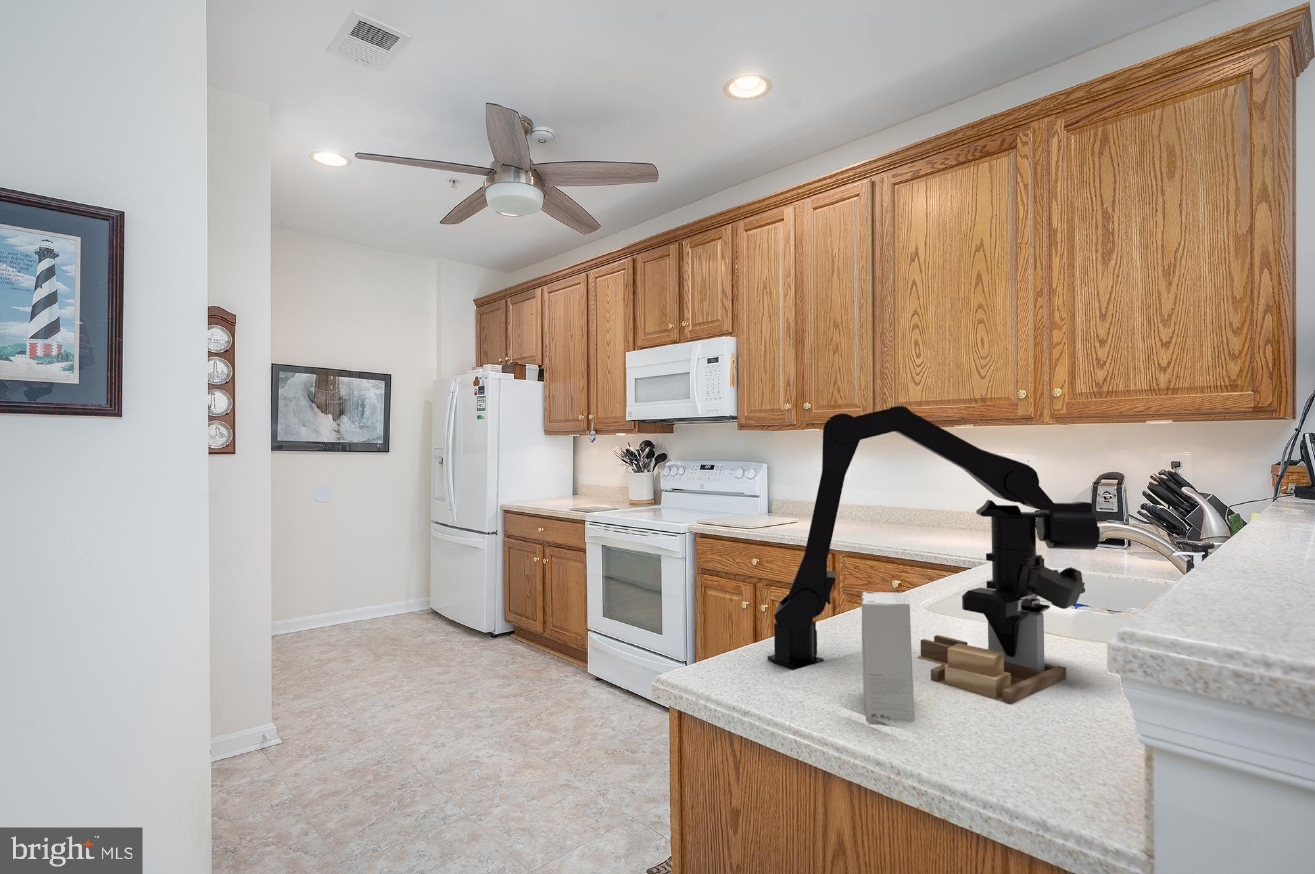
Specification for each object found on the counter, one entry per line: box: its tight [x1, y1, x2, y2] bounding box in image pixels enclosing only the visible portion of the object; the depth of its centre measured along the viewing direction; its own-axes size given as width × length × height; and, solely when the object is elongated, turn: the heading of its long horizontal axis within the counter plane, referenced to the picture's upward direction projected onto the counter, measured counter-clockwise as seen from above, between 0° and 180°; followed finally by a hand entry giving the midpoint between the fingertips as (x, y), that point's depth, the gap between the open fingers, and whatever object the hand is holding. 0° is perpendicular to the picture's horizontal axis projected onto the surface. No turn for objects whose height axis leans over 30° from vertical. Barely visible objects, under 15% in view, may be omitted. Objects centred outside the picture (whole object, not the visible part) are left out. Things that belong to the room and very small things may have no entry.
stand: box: [916, 634, 968, 666], centre depth 102 cm, size 7×5×4 cm
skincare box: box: [861, 591, 916, 726], centre depth 83 cm, size 8×6×15 cm
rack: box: [930, 662, 1067, 705], centre depth 92 cm, size 16×11×2 cm
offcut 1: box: [948, 643, 1004, 677], centre depth 89 cm, size 4×6×2 cm, turn 44°
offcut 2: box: [944, 665, 1011, 700], centre depth 89 cm, size 4×7×2 cm, turn 36°
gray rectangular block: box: [987, 610, 1046, 672], centre depth 95 cm, size 2×7×9 cm, turn 36°
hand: (1015, 654), depth 95 cm, fingers open, 3 cm apart
